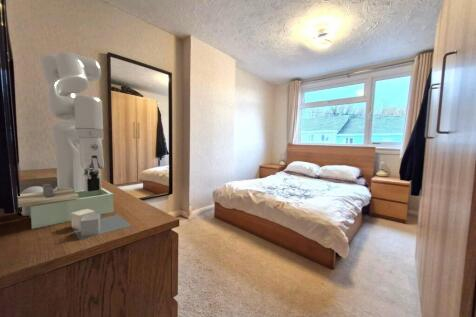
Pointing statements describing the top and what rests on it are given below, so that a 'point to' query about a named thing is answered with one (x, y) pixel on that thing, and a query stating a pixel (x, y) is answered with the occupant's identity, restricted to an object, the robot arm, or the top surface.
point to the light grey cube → (90, 225)
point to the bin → (71, 207)
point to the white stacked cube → (84, 181)
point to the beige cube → (79, 217)
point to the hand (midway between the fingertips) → (91, 188)
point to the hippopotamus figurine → (31, 190)
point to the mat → (106, 226)
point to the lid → (46, 196)
